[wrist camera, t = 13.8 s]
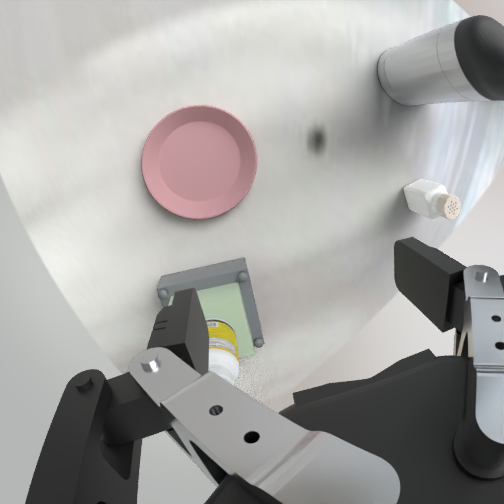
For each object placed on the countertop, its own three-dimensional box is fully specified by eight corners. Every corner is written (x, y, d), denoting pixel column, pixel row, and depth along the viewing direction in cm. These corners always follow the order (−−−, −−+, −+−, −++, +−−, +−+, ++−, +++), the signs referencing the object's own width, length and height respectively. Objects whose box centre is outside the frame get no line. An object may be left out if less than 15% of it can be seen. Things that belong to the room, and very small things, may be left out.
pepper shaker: (400, 186, 42) (439, 199, 33) (420, 177, 42) (460, 187, 33) (407, 210, 44) (444, 227, 35) (426, 200, 43) (465, 215, 34)
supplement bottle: (221, 357, 39) (223, 413, 30) (184, 340, 38) (177, 394, 29) (244, 328, 38) (252, 382, 29) (206, 308, 37) (203, 361, 27)
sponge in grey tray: (244, 257, 43) (250, 282, 36) (261, 328, 48) (268, 361, 40) (161, 276, 43) (151, 303, 36) (186, 343, 47) (181, 377, 40)
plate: (170, 91, 35) (168, 89, 33) (273, 133, 38) (276, 132, 36) (130, 192, 39) (126, 195, 37) (228, 231, 42) (229, 235, 40)
